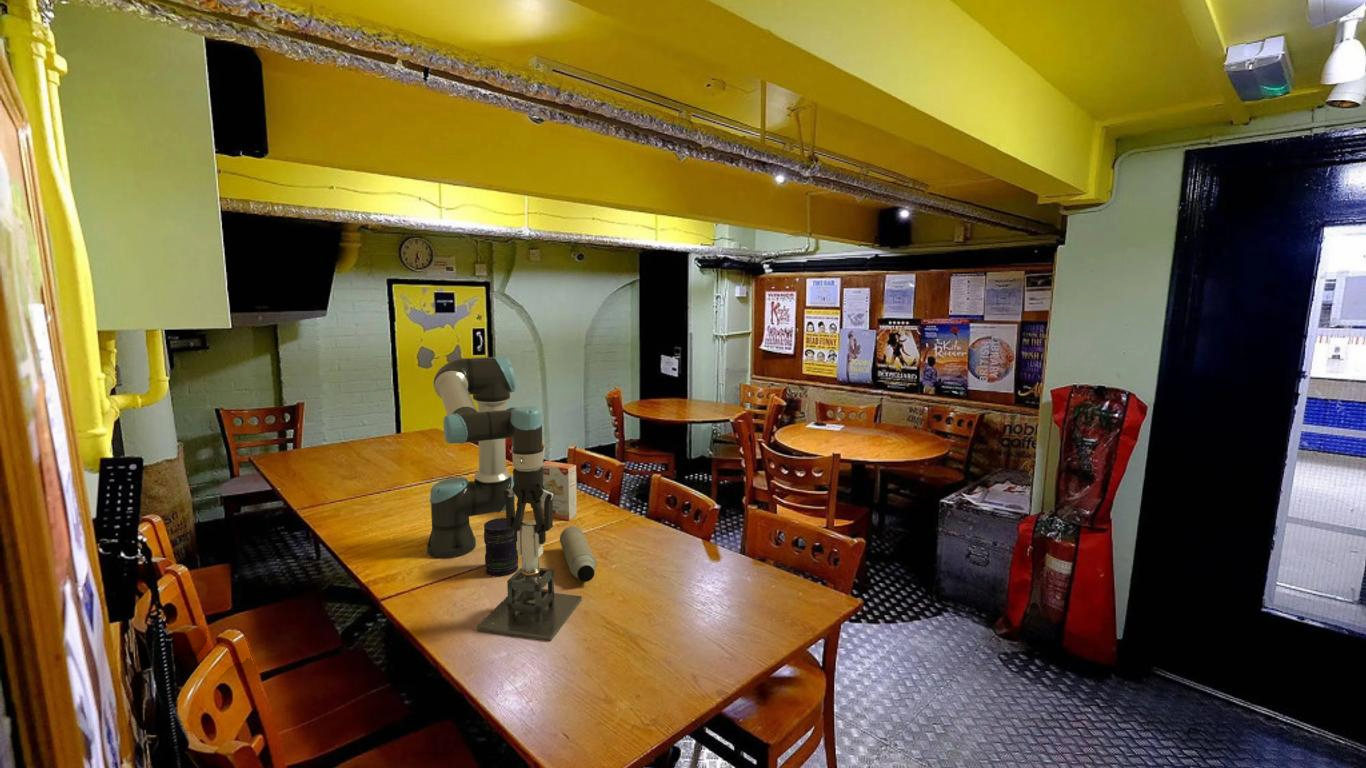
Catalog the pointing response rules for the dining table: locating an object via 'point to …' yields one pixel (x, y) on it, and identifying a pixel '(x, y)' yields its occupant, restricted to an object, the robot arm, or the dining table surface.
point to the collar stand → (531, 609)
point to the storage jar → (500, 548)
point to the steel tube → (529, 556)
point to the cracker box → (561, 489)
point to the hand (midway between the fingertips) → (530, 554)
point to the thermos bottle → (578, 553)
